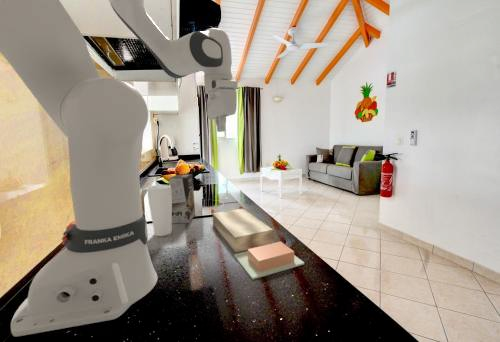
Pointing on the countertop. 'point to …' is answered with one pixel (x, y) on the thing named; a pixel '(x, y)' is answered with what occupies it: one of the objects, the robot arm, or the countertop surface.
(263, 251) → the peach brick
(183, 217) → the coffee box
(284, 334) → the countertop surface
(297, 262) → the mat
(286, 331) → the countertop surface
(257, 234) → the beige block
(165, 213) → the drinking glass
